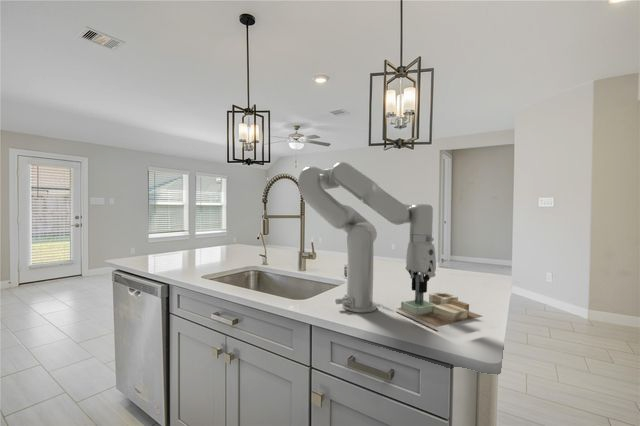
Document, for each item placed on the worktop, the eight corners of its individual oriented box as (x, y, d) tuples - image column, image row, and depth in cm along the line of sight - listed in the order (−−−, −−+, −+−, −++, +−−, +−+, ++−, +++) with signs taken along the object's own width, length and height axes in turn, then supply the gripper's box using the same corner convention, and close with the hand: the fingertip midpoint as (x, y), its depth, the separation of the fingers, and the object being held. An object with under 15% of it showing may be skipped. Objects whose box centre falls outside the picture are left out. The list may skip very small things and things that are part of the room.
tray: (417, 315, 101) (417, 308, 101) (401, 308, 107) (401, 301, 107) (436, 312, 105) (436, 304, 105) (420, 305, 112) (420, 298, 112)
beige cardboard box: (452, 321, 96) (453, 313, 96) (433, 313, 104) (433, 305, 103) (467, 317, 100) (467, 310, 100) (447, 310, 107) (447, 303, 107)
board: (436, 331, 92) (436, 313, 92) (396, 312, 108) (396, 297, 108) (482, 320, 102) (483, 304, 102) (439, 304, 118) (440, 290, 118)
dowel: (419, 305, 104) (419, 276, 104) (413, 302, 107) (413, 274, 107) (425, 303, 106) (425, 275, 105) (419, 301, 108) (419, 273, 108)
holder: (444, 310, 107) (444, 299, 107) (428, 304, 113) (429, 293, 113) (457, 307, 110) (458, 296, 110) (442, 302, 116) (442, 291, 116)
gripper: (447, 241, 100) (445, 296, 101) (411, 236, 115) (410, 284, 115) (431, 242, 97) (429, 299, 97) (396, 237, 111) (395, 286, 112)
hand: (419, 290), depth 106 cm, fingers closed on dowel, 2 cm apart
